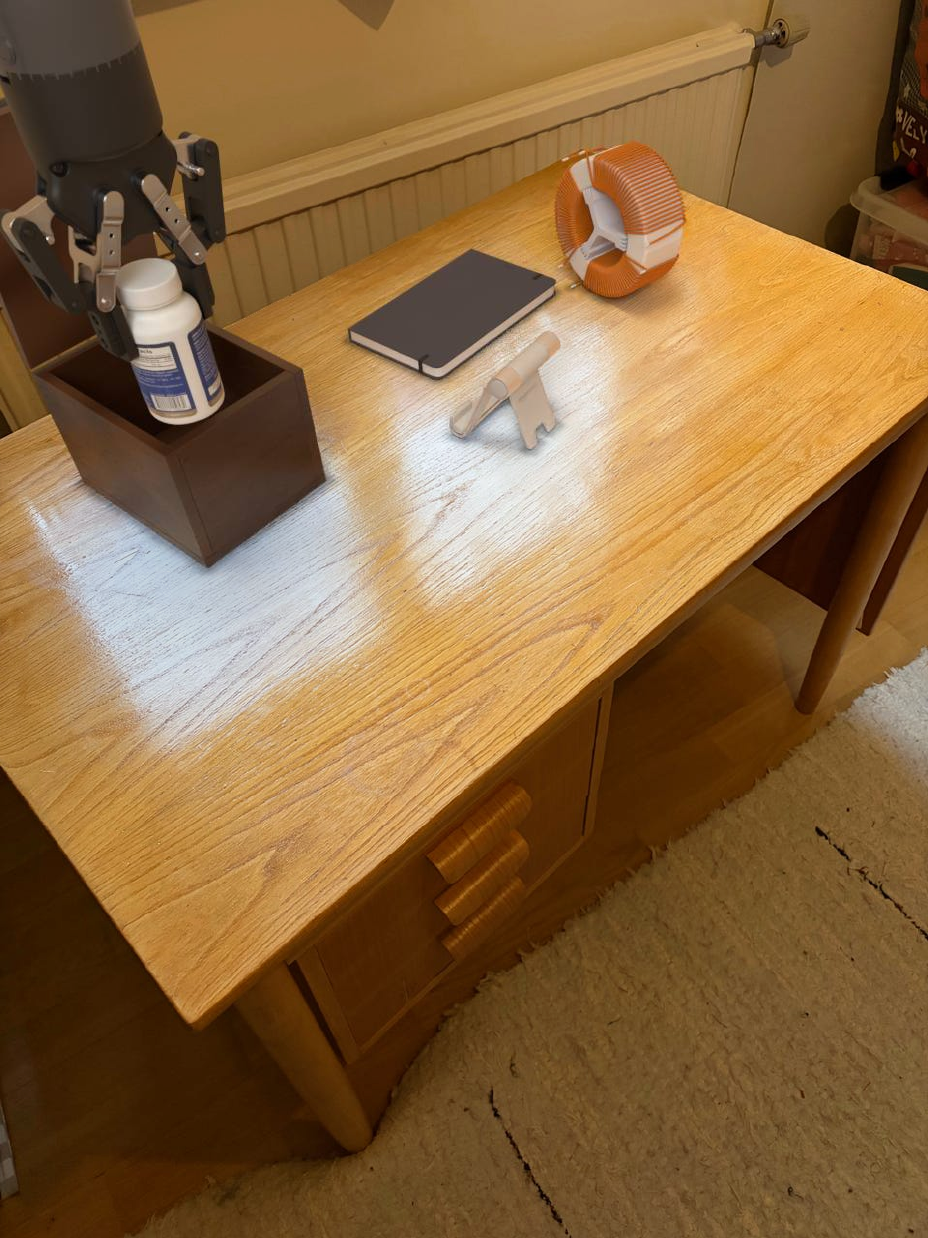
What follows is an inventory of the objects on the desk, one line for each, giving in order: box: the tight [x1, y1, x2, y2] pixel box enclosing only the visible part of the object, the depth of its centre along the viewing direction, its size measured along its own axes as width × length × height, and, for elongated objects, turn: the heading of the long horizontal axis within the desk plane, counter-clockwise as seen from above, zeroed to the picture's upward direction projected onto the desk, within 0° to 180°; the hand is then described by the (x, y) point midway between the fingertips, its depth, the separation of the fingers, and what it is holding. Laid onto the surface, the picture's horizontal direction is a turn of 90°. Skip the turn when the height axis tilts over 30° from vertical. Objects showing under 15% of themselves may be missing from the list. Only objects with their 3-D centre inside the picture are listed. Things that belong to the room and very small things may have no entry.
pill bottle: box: [116, 257, 225, 424], centre depth 58 cm, size 5×5×10 cm
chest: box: [30, 319, 327, 569], centre depth 76 cm, size 18×14×12 cm
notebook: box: [347, 248, 557, 380], centre depth 97 cm, size 13×2×21 cm
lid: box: [0, 96, 160, 370], centre depth 68 cm, size 19×14×5 cm
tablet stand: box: [449, 330, 561, 450], centre depth 82 cm, size 9×8×8 cm
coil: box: [553, 140, 688, 299], centre depth 95 cm, size 7×15×15 cm, turn 37°
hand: (163, 333), depth 58 cm, fingers closed on pill bottle, 5 cm apart
